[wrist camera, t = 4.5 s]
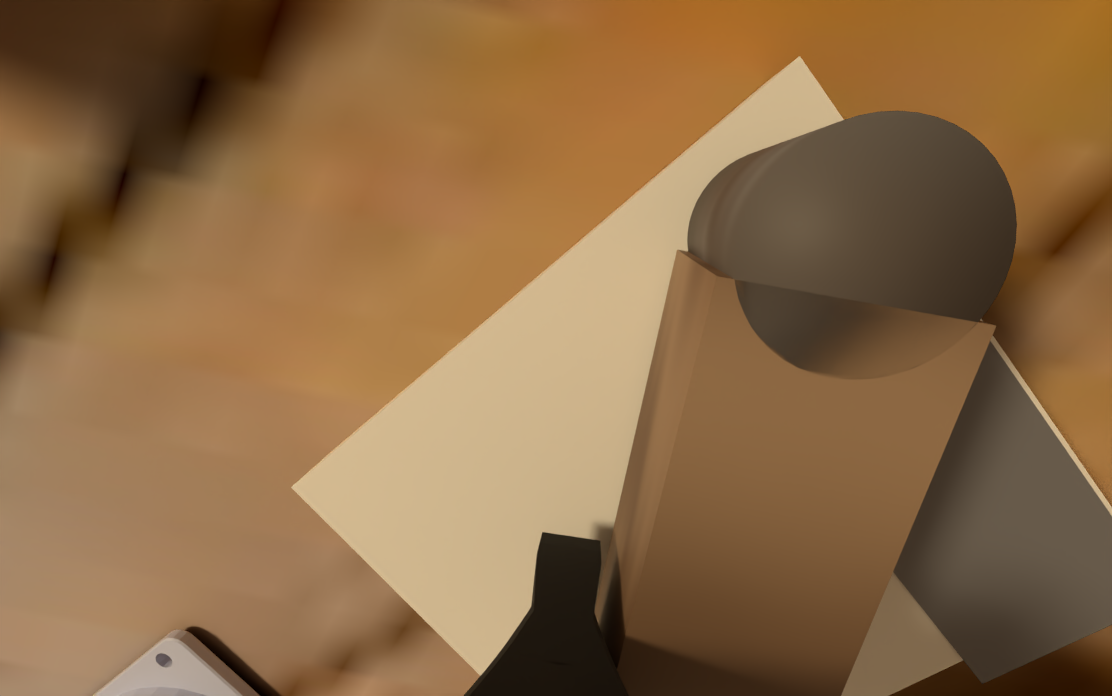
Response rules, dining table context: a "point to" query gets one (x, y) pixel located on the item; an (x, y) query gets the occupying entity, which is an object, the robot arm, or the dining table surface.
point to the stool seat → (607, 437)
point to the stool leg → (801, 403)
